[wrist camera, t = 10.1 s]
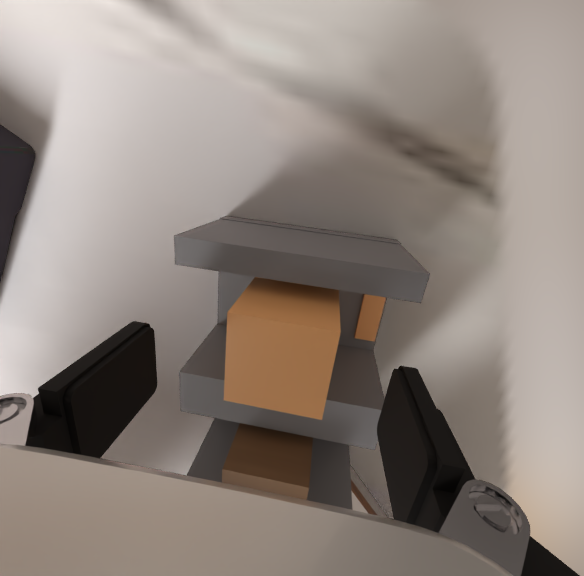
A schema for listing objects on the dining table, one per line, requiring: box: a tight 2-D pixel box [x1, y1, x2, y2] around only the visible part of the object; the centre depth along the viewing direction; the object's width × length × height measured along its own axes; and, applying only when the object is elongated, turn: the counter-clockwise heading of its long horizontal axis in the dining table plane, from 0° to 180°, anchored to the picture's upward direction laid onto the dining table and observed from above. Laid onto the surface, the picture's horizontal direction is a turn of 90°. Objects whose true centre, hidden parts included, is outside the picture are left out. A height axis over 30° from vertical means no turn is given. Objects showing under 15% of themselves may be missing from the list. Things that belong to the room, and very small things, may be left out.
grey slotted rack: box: [174, 216, 430, 510], centre depth 17 cm, size 16×10×6 cm, turn 173°
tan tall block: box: [224, 277, 341, 420], centre depth 14 cm, size 4×4×7 cm
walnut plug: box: [222, 423, 313, 500], centre depth 17 cm, size 4×4×7 cm
